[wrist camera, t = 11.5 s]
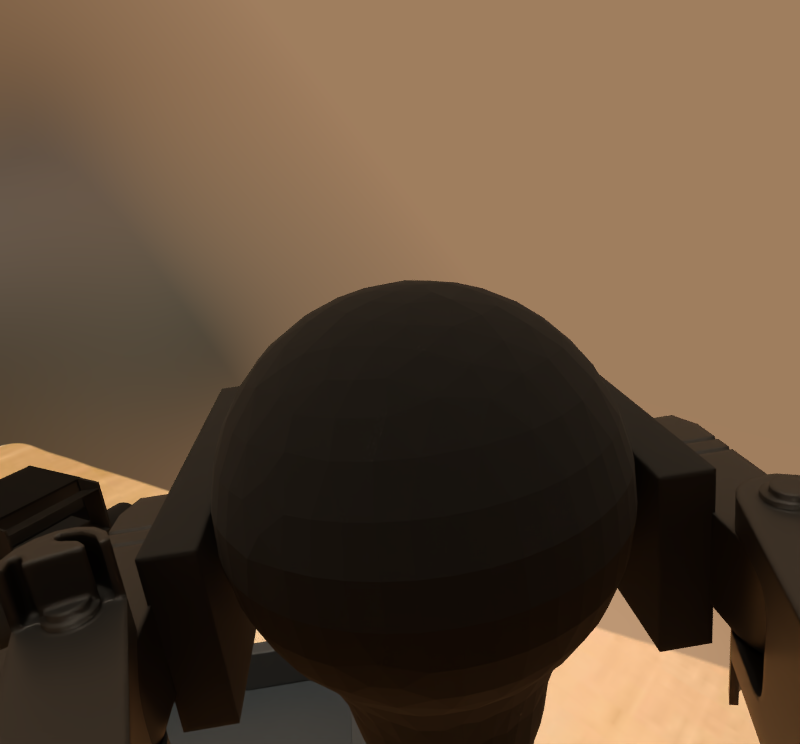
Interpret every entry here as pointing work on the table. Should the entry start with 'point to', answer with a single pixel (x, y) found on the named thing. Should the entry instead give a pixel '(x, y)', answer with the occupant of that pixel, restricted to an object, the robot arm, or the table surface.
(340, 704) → the slate tray
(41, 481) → the toy truck
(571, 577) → the light bulb
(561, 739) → the table surface
